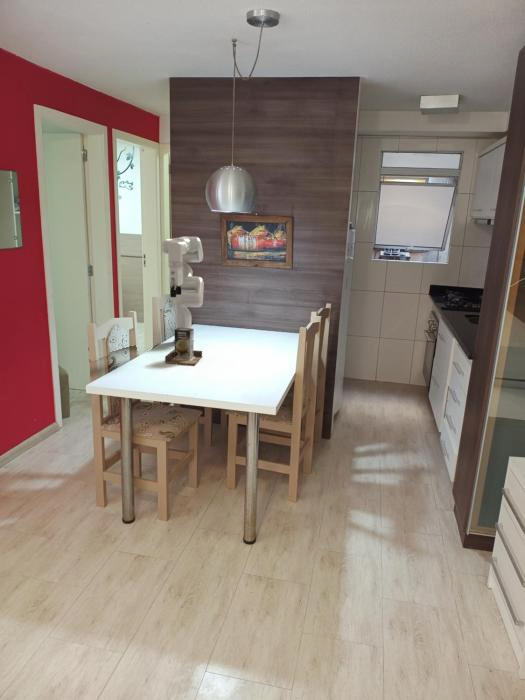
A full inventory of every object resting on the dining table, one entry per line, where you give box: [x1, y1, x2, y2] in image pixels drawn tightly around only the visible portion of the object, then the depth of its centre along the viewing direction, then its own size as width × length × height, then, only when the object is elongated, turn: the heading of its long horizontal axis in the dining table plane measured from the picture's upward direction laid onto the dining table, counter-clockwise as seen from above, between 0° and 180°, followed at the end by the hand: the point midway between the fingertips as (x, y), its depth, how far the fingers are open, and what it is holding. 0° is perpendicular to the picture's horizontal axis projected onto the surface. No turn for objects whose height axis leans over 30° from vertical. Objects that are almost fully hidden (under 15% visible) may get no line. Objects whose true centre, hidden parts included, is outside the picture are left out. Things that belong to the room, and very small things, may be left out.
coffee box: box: [174, 327, 195, 360], centre depth 286 cm, size 9×6×16 cm
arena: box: [164, 348, 203, 367], centre depth 285 cm, size 16×16×4 cm
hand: (175, 295), depth 291 cm, fingers open, 9 cm apart
